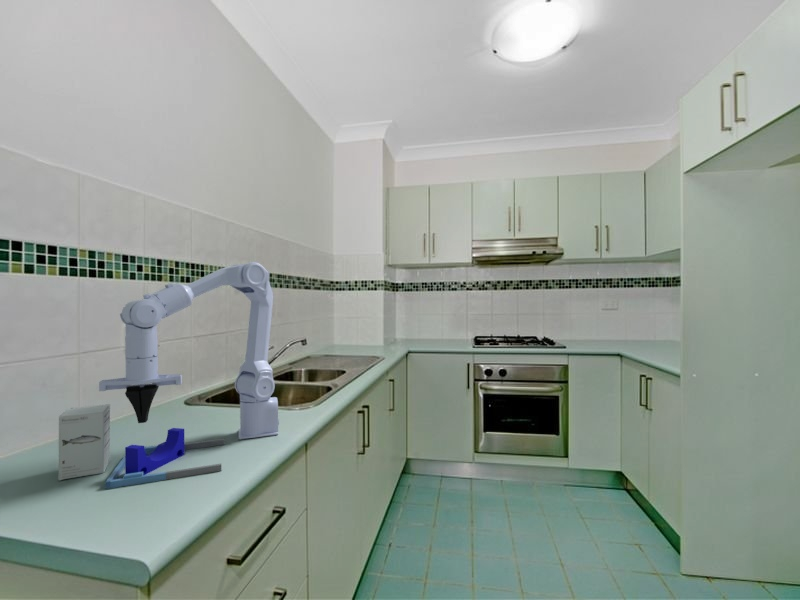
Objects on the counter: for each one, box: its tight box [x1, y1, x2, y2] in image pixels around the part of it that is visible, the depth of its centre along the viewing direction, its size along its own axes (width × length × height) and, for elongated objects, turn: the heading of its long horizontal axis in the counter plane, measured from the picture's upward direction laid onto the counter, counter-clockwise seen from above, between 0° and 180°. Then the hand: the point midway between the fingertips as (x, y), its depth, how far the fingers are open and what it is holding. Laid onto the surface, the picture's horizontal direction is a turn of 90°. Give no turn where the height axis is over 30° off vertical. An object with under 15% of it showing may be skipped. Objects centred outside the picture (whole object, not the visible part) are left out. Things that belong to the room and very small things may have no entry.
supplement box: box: [58, 403, 111, 481], centre depth 81 cm, size 7×7×13 cm
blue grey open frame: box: [104, 438, 225, 490], centre depth 84 cm, size 20×17×2 cm
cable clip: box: [124, 427, 186, 475], centre depth 84 cm, size 12×4×6 cm, turn 167°
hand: (143, 421), depth 83 cm, fingers closed
